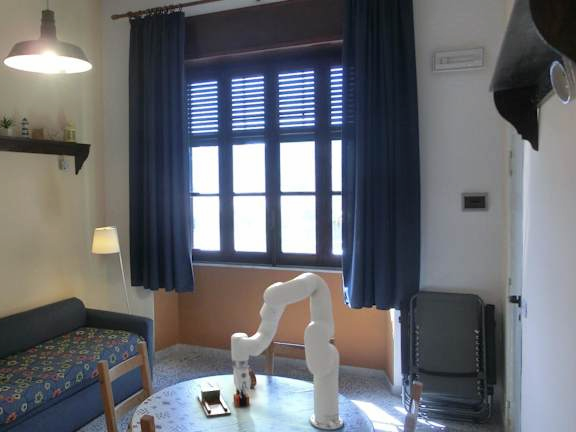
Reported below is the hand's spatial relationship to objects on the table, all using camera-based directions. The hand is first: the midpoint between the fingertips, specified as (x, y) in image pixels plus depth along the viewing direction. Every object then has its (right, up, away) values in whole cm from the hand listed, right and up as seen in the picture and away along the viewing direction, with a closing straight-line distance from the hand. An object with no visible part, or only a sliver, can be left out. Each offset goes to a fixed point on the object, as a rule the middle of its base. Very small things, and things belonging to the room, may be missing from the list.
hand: (241, 403), depth 217 cm
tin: (+4, +1, +21) cm, 22 cm away
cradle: (-12, -1, 0) cm, 12 cm away
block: (0, -1, 0) cm, 0 cm away
